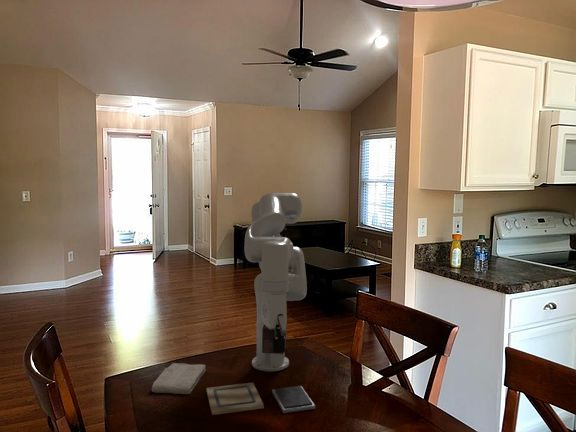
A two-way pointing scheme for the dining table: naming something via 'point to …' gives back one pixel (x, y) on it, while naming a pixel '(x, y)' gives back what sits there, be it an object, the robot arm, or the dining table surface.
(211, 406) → the board
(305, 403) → the ink pad
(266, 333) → the box
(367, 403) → the dining table surface
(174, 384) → the washcloth
